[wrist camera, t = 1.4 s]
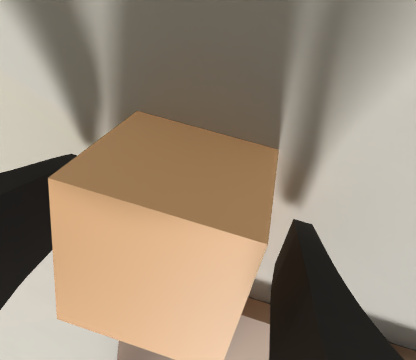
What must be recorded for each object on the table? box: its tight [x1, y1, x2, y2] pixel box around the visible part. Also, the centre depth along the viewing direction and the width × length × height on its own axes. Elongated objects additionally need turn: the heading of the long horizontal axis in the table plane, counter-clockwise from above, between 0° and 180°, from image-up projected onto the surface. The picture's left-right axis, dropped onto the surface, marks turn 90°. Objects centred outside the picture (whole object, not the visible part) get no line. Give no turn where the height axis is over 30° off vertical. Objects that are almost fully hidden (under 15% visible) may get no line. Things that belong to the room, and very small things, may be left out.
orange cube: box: [48, 111, 279, 360], centre depth 11 cm, size 5×5×5 cm
